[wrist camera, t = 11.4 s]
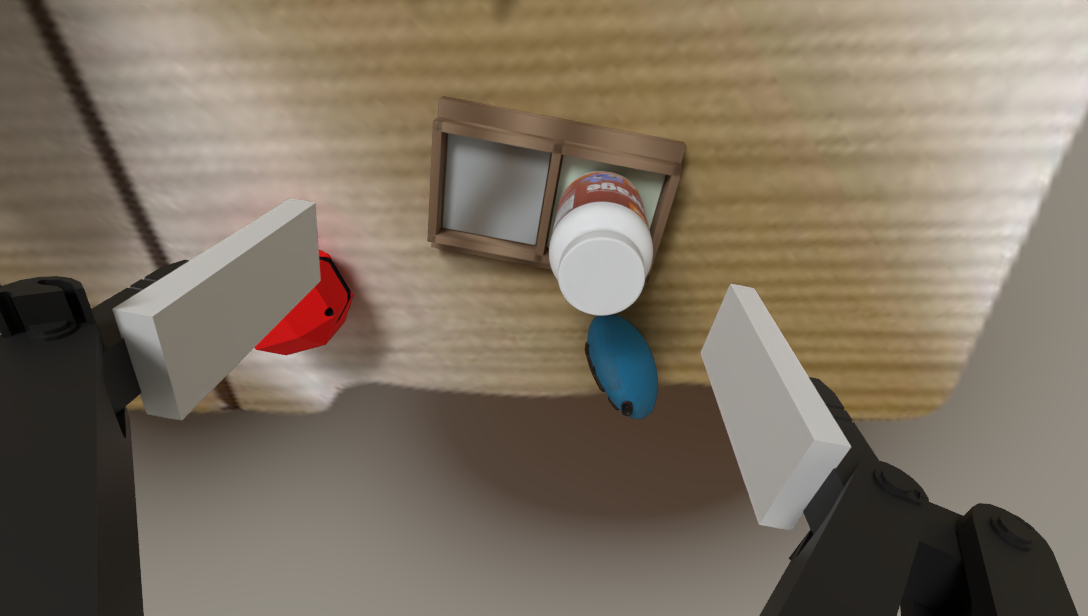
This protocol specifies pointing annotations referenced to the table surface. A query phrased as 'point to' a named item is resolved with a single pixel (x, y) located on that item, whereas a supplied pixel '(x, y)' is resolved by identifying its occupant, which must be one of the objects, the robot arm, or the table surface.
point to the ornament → (622, 365)
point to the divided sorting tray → (531, 177)
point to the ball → (312, 314)
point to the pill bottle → (601, 243)
